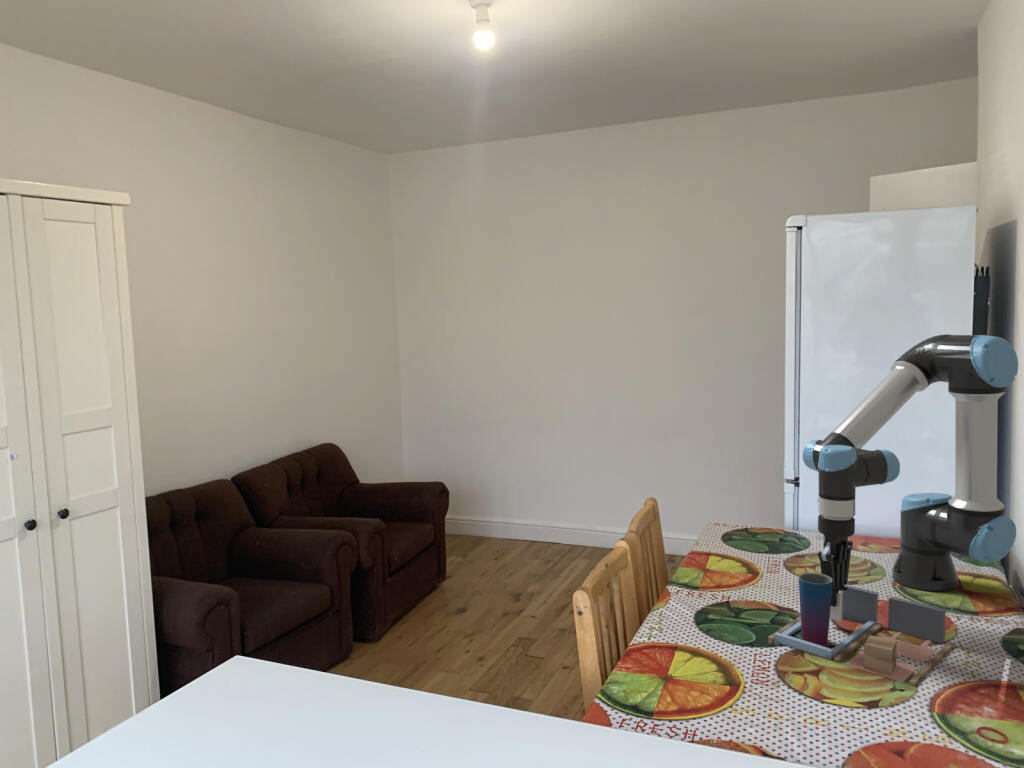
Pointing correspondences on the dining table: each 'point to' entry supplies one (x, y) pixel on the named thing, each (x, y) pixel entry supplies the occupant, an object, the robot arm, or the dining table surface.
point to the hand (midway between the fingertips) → (834, 618)
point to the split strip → (912, 622)
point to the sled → (854, 608)
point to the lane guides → (865, 637)
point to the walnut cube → (880, 654)
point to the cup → (815, 607)
